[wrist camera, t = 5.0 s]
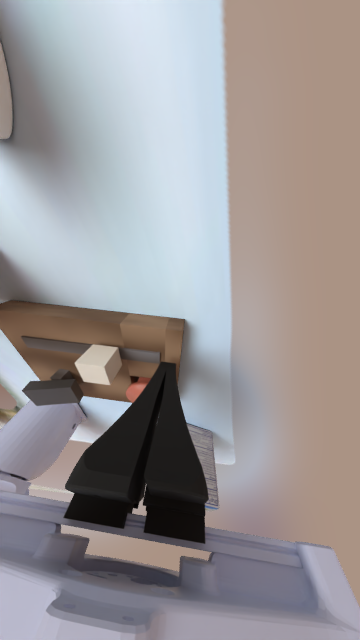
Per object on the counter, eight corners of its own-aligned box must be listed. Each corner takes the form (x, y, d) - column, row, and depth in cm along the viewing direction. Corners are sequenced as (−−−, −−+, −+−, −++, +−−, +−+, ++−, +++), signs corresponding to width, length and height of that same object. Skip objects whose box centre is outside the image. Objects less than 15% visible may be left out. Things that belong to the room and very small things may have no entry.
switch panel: (176, 393, 19) (173, 418, 17) (61, 378, 20) (40, 399, 17) (184, 319, 13) (182, 340, 10) (11, 300, 13) (-36, 314, 11)
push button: (167, 388, 18) (163, 410, 16) (136, 384, 18) (128, 405, 16) (168, 367, 16) (164, 389, 14) (133, 363, 16) (123, 383, 14)
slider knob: (122, 364, 13) (110, 385, 11) (99, 362, 13) (83, 381, 11) (117, 347, 12) (104, 366, 10) (92, 344, 12) (74, 363, 10)
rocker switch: (83, 394, 16) (79, 402, 15) (43, 396, 16) (36, 406, 15) (75, 378, 15) (70, 387, 14) (30, 381, 14) (21, 390, 13)
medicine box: (165, 426, 26) (154, 501, 18) (175, 418, 24) (166, 498, 16) (200, 437, 27) (202, 512, 20) (212, 430, 25) (220, 511, 17)
